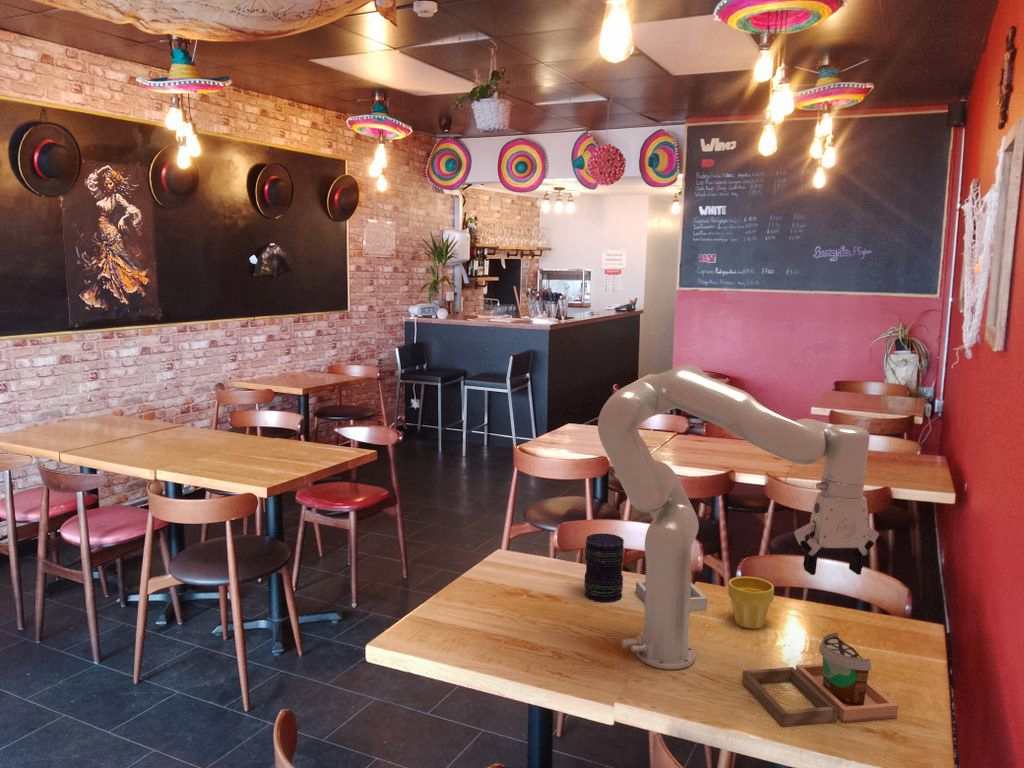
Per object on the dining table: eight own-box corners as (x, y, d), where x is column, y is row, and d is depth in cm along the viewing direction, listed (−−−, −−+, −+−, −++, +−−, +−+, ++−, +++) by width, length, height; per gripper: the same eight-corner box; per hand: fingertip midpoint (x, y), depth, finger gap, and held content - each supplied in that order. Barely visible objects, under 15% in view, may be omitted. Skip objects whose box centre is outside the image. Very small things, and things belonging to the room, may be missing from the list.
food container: (805, 679, 159) (808, 632, 157) (833, 677, 159) (836, 631, 158) (837, 712, 147) (841, 662, 145) (868, 710, 147) (871, 660, 146)
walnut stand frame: (781, 726, 142) (782, 714, 142) (742, 682, 158) (742, 670, 158) (836, 721, 144) (837, 709, 144) (792, 678, 160) (792, 667, 160)
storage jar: (624, 589, 205) (625, 535, 203) (620, 604, 195) (622, 547, 193) (586, 586, 207) (588, 532, 205) (581, 600, 198) (582, 544, 196)
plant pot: (731, 610, 193) (733, 572, 191) (774, 618, 188) (776, 580, 187) (722, 627, 183) (724, 587, 182) (768, 636, 179) (770, 595, 178)
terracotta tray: (843, 722, 144) (844, 710, 144) (795, 676, 160) (796, 665, 160) (897, 717, 146) (898, 705, 145) (844, 673, 162) (844, 661, 162)
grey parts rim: (653, 613, 191) (653, 601, 190) (635, 592, 203) (636, 581, 203) (706, 609, 193) (707, 598, 193) (686, 589, 206) (687, 578, 205)
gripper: (810, 493, 146) (801, 580, 149) (894, 494, 149) (883, 579, 151) (791, 482, 154) (782, 565, 156) (871, 483, 156) (861, 564, 159)
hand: (832, 572), depth 154 cm, fingers open, 9 cm apart
